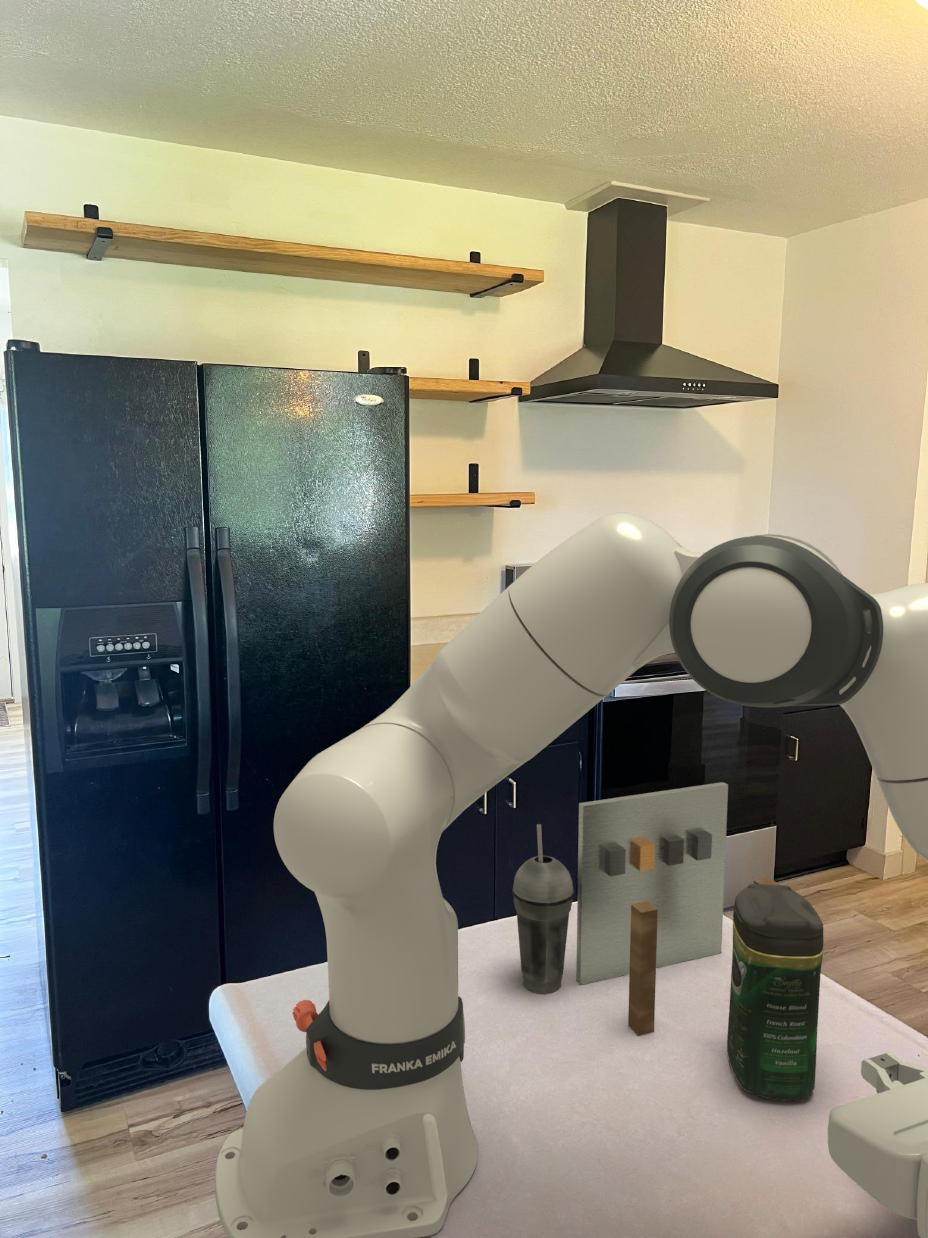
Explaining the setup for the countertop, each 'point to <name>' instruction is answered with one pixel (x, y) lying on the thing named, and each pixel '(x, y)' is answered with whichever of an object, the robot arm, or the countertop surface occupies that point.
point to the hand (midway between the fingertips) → (873, 1063)
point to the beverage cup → (542, 919)
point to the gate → (646, 965)
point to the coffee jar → (774, 992)
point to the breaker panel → (650, 876)
